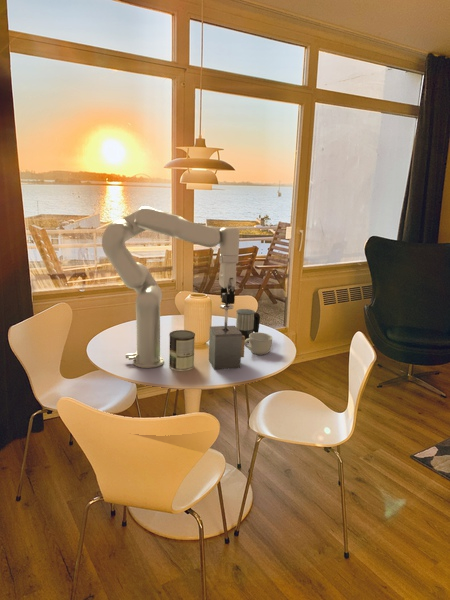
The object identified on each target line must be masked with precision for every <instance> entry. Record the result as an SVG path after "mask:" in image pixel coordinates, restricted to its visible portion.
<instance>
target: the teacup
mask: <svg viewBox="0 0 450 600" xmlns="http://www.w3.org/2000/svg"><path fill="white" fill-rule="evenodd" d="M273 338H274V337H273V336H272V335H271V334H268V333H266V332H265V333H264V332H259V331H258V333H257V332H256V333H255V332H253V333H251V334H249V338H248V339H246V340H245V345H244V347H245V348H247V349H248V350H249V351H251V352H252V353H253V354H255V355H259V356H261V355H262V356H263V354H264V355H266V354H268V353H269V352H270V351H271V349H272V346H273V345H272V344H273ZM248 341H249V343H247V342H248Z"/></svg>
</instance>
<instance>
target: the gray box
mask: <svg viewBox="0 0 450 600" xmlns="http://www.w3.org/2000/svg"><path fill="white" fill-rule="evenodd" d="M208 340H209V341H208V342H209V343H208V361H209V363H210V365H211V367H212V368H213V370H214V371H216V370H217V371H219V370H236V369H237V370H238V369H241V361H242V360H241V359H242V358H245V336H244V335H242V333H241V332H240V331H239V330H238V329H237V327H236V325H227V331H224V325H215V326H214V325H213V326H209V339H208Z"/></svg>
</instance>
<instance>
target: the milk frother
mask: <svg viewBox="0 0 450 600" xmlns="http://www.w3.org/2000/svg"><path fill="white" fill-rule="evenodd" d="M235 312H236V323H235V324H236V325H235V326H236V327H237V329H238V330H239V331H240V332H241V333H242V335H244V336H245V340H246V339H248V338H249V334H251V333H256V332H257V333H258V332H259V329H260V322H261V321H260V320H261V316H260V314H259V313H258V312H256V311H255V310H253V309H249V308H241V309H240V308H239V309H237V310H235ZM248 342H249V341H248ZM248 342H247V344H249V343H248Z"/></svg>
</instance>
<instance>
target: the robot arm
mask: <svg viewBox="0 0 450 600" xmlns="http://www.w3.org/2000/svg"><path fill="white" fill-rule="evenodd" d="M145 231H148V232H149V231H151V232H153V233H156V234H157V233H158V234H161V235H164V236H167V237H171V238H174V239H177V240H181V241H184V242H188V243H191V244H195V245H198V246H202V247H205V248H214V247H216V246H218V245H219V257H218V258H219V264H220V265H219V276H218V284H219V285H220V299H222V293H225V292H227V293H228V294H227V298H226V303H227V304H231V305H235V300H236V299H235V298H236V297H235V296H236V287H237V286H236V285H237V264H238V263H239V252H240V229H239V228H236V227H230V226H229V227H226V226H225V227H218V226H214V225H213V226H212V225H204V224H203V225H202V224H199V223H196V222H193V221H190V220H188V219H186V218H184V217H182V216H180V215H177V214H173V213H170V212H166V211H163V210H160V209H156V208H154V207H151V206H141V207H139V208H138V209H137V210H136V211H134V212H132V213H130V214H128V215H126V216H124V217H123V218H122V217H121V219H119V220H115V221H112V222H110V224H108V225H107V226H106V228H105V230H104V232H103V233H102V237H101V245H102V246H101V248H102V250H103V252H104V254H105V256H106V258H107V259H108V261H109V262H110V264H111V265H112V267H113V268H114V270H115V272H116V274H117V275H118V276H119V278H120V279H121V281H122V283H123V284H124V285H125V286H126V288H128V289H131V290H134V291H135V292H136V298H135V303H134V304H135V314H136V315H135V316H136V318H135V319H136V320H135V321H136V322H135V323H136V350H135V352H133V353H125V359H128V360H129V361H132V363H133V365H134V366H135V367H137V368H143V369H153V368H158V367H161V366H162V365H163V364H164V362H165V360H164V358H163V357H162V356H161V302H162V299H163V292H162V289H161V287H160V286H159V284H158V282H157V281H156V279H155V278H154V276H153V275H152V274H151V272H150V270H149V269H148V267H147V266H146V265H144V264H143V263H141V262H138V261H136V259H135V258H134V257H133V255H132V253H131V252H130V251H129V249H128V248H127V246H126V241H128V240H130V239H132V238H134V237H135V236H138V235H140V234H142V233H144V232H145Z"/></svg>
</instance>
